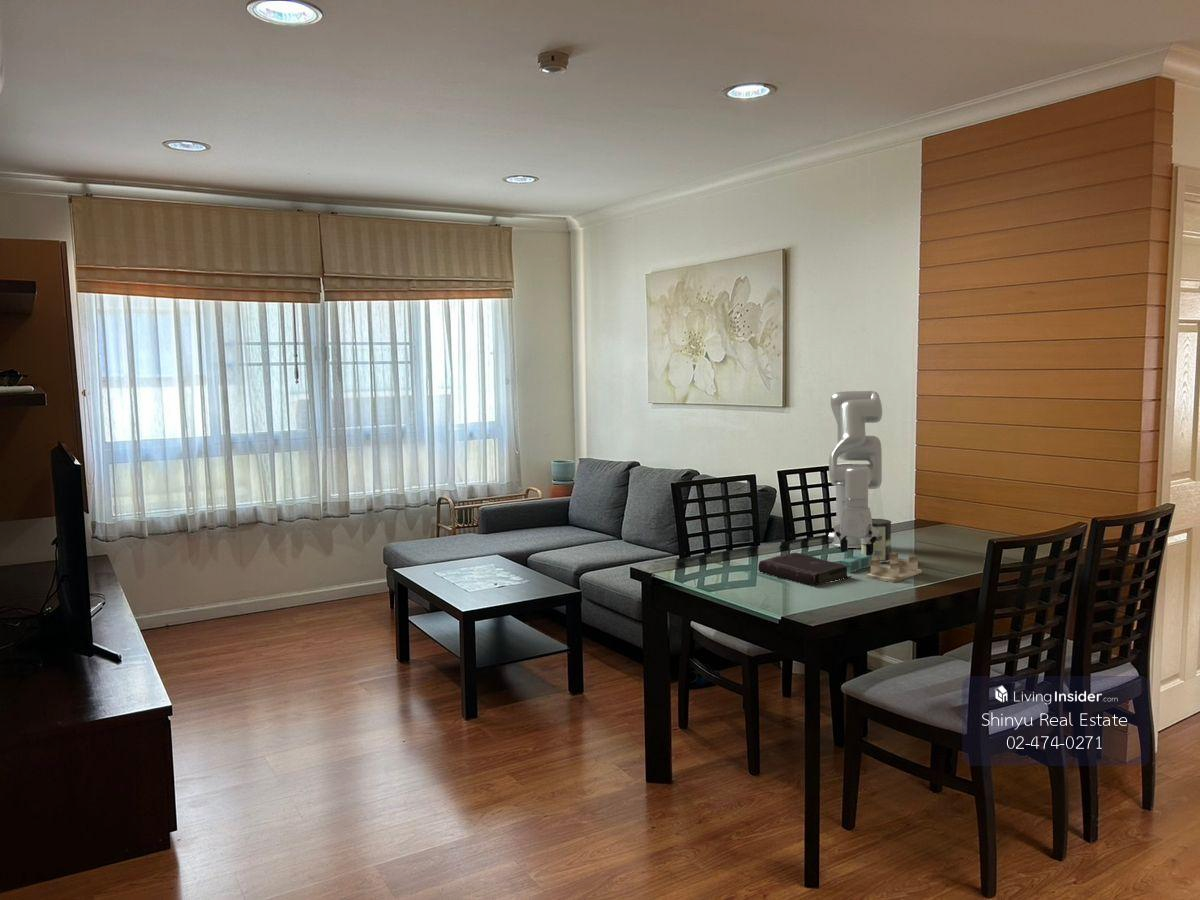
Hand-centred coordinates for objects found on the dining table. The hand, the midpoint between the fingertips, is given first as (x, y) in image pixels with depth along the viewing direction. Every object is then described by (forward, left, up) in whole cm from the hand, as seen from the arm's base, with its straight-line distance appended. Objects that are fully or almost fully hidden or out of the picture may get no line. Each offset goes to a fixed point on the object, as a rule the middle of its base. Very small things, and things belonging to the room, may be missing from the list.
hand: (856, 553), depth 293 cm
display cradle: (+14, +1, -6) cm, 15 cm away
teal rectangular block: (-1, +1, -6) cm, 6 cm away
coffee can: (-2, +17, -6) cm, 18 cm away
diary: (-8, -18, -6) cm, 21 cm away
